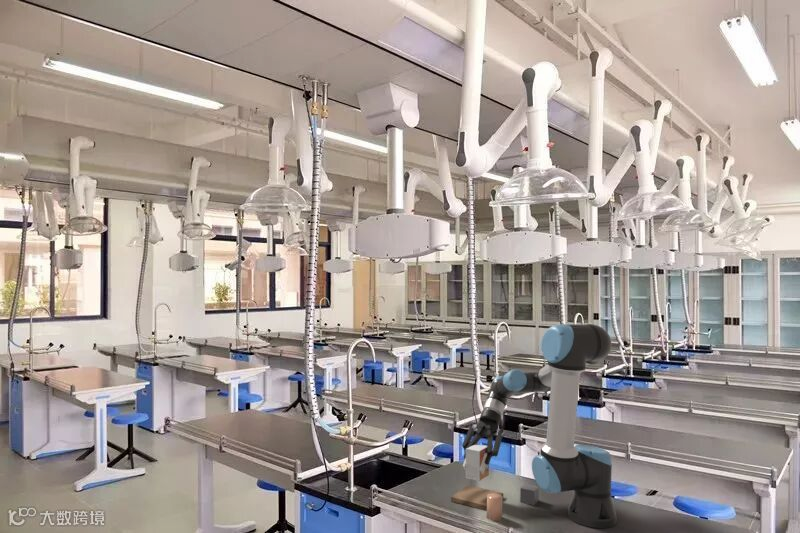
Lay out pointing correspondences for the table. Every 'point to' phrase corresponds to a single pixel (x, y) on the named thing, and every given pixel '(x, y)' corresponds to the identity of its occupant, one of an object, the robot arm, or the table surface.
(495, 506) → the pinkish-brown upright cylinder
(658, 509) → the table surface
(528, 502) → the charcoal block
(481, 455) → the small box
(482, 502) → the walnut board
